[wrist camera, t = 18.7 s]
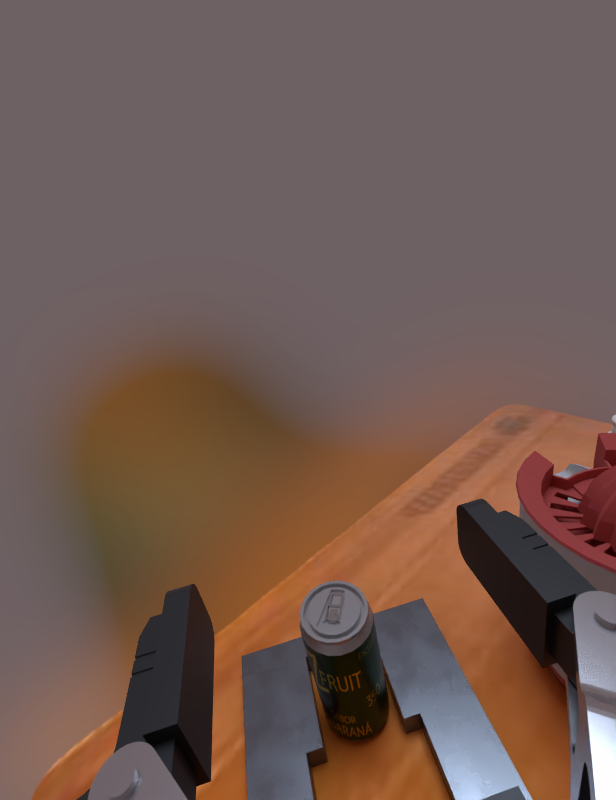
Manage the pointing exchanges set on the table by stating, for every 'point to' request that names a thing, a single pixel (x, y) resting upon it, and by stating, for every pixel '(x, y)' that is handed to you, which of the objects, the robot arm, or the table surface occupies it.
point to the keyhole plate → (415, 699)
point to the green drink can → (345, 659)
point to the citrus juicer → (575, 513)
